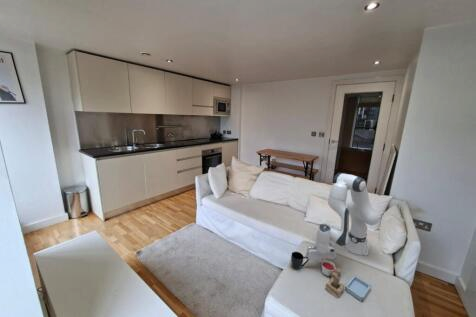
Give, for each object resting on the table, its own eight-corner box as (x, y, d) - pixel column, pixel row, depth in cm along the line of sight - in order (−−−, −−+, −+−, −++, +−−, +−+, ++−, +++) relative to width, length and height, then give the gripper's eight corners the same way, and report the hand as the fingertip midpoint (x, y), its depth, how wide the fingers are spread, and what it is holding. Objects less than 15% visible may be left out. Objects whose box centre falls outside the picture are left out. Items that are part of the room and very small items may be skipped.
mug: (308, 272, 136) (310, 261, 134) (290, 270, 138) (292, 258, 136) (306, 263, 144) (307, 253, 142) (289, 261, 146) (291, 250, 144)
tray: (353, 278, 132) (354, 275, 131) (370, 289, 125) (371, 285, 124) (344, 290, 124) (345, 286, 123) (361, 302, 116) (362, 298, 115)
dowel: (333, 287, 126) (335, 274, 123) (337, 290, 123) (340, 277, 121) (331, 289, 124) (333, 276, 121) (335, 293, 122) (338, 280, 119)
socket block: (331, 282, 129) (332, 277, 128) (343, 291, 123) (344, 286, 122) (325, 289, 124) (326, 283, 123) (337, 298, 118) (338, 293, 117)
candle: (329, 279, 131) (331, 272, 129) (317, 270, 138) (318, 263, 136) (336, 273, 136) (338, 266, 134) (324, 264, 143) (326, 257, 141)
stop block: (336, 273, 136) (337, 267, 135) (340, 276, 134) (341, 270, 133) (330, 279, 131) (331, 273, 130) (335, 282, 129) (336, 276, 128)
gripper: (309, 250, 134) (307, 266, 138) (338, 249, 135) (335, 266, 139) (305, 244, 141) (304, 260, 144) (333, 243, 141) (331, 259, 145)
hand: (319, 263), depth 141 cm, fingers closed
